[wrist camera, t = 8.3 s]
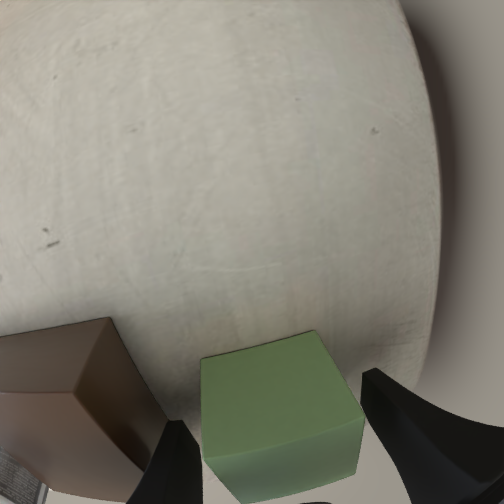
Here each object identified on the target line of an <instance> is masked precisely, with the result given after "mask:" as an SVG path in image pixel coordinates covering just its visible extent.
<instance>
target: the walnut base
mask: <svg viewBox="0 0 504 504" xmlns="http://www.w3.org/2000/svg"><path fill="white" fill-rule="evenodd" d="M168 421H169V420H168V418H167V417H166V416H165V414H164V413H163V411H162V410H161V408H160V406H159V405H158V403H157V402H156V400H155V399H154V397H153V396H152V394H151V392H150V391H149V389H148V388H147V386H146V384H145V383H144V381H143V379H142V378H141V376H140V374H139V372H138V371H137V369H136V367H135V365H134V364H133V362H132V360H131V358H130V356H129V354H128V353H127V351H126V349H125V347H124V345H123V343H122V341H121V339H120V337H119V335H118V333H117V331H116V329H115V327H114V325H113V323H112V321H111V319H110V318H109V317H107V318H102V319H97V320H92V321H87V322H82V323H77V324H72V325H67V326H61V327H56V328H51V329H45V330H40V331H34V332H28V333H22V334H16V335H10V336H4V337H0V446H1V447H2V448H3V449H5V450H6V451H7V452H8V453H9V454H10V455H11V456H12V457H13V458H14V459H15V460H16V461H17V462H18V463H20V464H21V465H22V466H23V467H24V468H25V469H26V470H28V471H29V472H30V473H31V474H32V475H34V476H35V477H36V478H37V479H39V480H40V481H41V482H42V483H44V484H45V485H46V486H48V487H49V488H50V489H52V490H53V491H57V492H61V493H66V494H70V495H76V496H81V497H86V498H92V499H99V500H106V501H115V502H125V503H126V502H127V501H128V499H129V498H130V496H131V495H132V493H133V492H134V490H135V489H136V487H137V485H138V483H139V482H140V480H141V478H142V476H143V474H144V472H145V470H146V469H147V466H148V464H149V462H150V460H151V458H152V456H153V454H154V451H155V449H156V447H157V445H158V442H159V440H160V437H161V435H162V432H163V430H164V427H165V425H166V423H167V422H168Z"/></svg>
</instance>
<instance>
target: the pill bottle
mask: <svg viewBox="0 0 504 504" xmlns="http://www.w3.org/2000/svg"><path fill="white" fill-rule="evenodd" d="M48 490H49V487H48V486H46V485H45V484H44V483H42V482H41V481H40V480H39V479H37V478H36V477H35V476H34V475H32V474H31V473H30V472H29V471H28V470H26V469H25V468H24V467H23V466H22V465H21V464H20V463H18V462H17V461H16V460H15V459H14V458H13V457H12V456H11V455H10V454H9V453H8V452H7V451H6V450H5V449H3V448H2V447H1V446H0V504H45V501H46V497H47V493H48Z"/></svg>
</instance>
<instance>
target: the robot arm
mask: <svg viewBox="0 0 504 504" xmlns="http://www.w3.org/2000/svg"><path fill="white" fill-rule="evenodd" d="M360 404H361V406H362V408H363V411H364V413H365V415H366V417H367V419H368V422H369V423H370V425H371V427H372V428H373V430H374V432H375V433H376V435H377V436H378V438H379V439H380V441H381V442H382V444H383V446H384V447H385V449H386V451H387V452H388V454H389V455H390V457H391V458H392V460H393V462H394V464H395V466H396V467H397V470H398V472H399V474H400V476H401V478H402V480H403V483H404V485H405V488H406V490H407V493H408V495H409V498H410V500H411V503H412V504H504V427H497V426H492V425H486V424H483V423H479V422H475V421H472V420H468V419H465V418H462V417H460V416H457V415H455V414H452V413H450V412H447V411H445V410H443V409H441V408H439V407H437V406H435V405H433V404H431V403H429V402H428V401H426V400H424V399H422V398H421V397H419V396H417V395H416V394H414V393H413V392H411V391H409V390H408V389H406V388H405V387H403V386H402V385H400V384H399V383H397V382H396V381H395V380H393V379H392V378H390V377H389V376H388V375H386V374H385V373H383V372H382V371H381V370H379V369H378V368H373V369H371V370H369V371H366V372H364V373H362V388H361V400H360ZM126 504H203V480H202V461H201V454H200V447H199V444H198V443H197V442H196V440H195V439H194V437H193V436H192V434H191V433H190V431H189V430H188V428H187V427H186V425H185V424H184V422H183V421H182V420H176V421H168V422H167V423H166V425H165V427H164V430H163V432H162V435H161V437H160V440H159V442H158V445H157V447H156V449H155V451H154V454H153V456H152V458H151V460H150V462H149V464H148V466H147V469H146V470H145V472H144V474H143V476H142V478H141V480H140V482H139V483H138V485H137V487H136V489H135V490H134V492H133V493H132V495H131V496H130V498H129V499H128V501H127V502H126Z"/></svg>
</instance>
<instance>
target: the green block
mask: <svg viewBox="0 0 504 504" xmlns="http://www.w3.org/2000/svg"><path fill="white" fill-rule="evenodd" d="M200 391H201V431H202V454H203V460H204V461H205V463H206V464H207V465H208V466H209V468H210V469H211V470H212V471H213V472H214V474H215V475H216V476H217V477H218V478H219V480H220V481H221V482H222V483H223V484H224V485H225V487H226V488H227V489H228V490H229V491H230V492H231V493H232V495H233V496H234V497H235V498H236V499H237V500H238V501H239V502H240V503H241V504H249V503H255V502H260V501H265V500H270V499H275V498H280V497H284V496H288V495H292V494H296V493H300V492H303V491H307V490H310V489H314V488H317V487H320V486H324V485H326V484H330V483H333V482H336V481H338V480H341V479H344V478H346V477H349V476H352V475H354V474H355V473H356V468H357V463H358V458H359V453H360V448H361V441H362V436H363V429H364V423H365V414H364V413H363V411H362V409H361V407H360V406H359V404H358V402H357V400H356V399H355V397H354V395H353V394H352V392H351V390H350V388H349V387H348V385H347V383H346V382H345V380H344V378H343V376H342V375H341V373H340V371H339V370H338V368H337V366H336V364H335V363H334V361H333V359H332V358H331V356H330V354H329V353H328V351H327V349H326V347H325V346H324V344H323V342H322V341H321V339H320V337H319V336H318V334H317V332H316V331H315V330H314V331H310V332H307V333H304V334H300V335H297V336H293V337H290V338H286V339H283V340H279V341H275V342H272V343H268V344H264V345H260V346H256V347H252V348H248V349H244V350H240V351H236V352H232V353H227V354H223V355H218V356H214V357H209V358H204V359H201V360H200Z"/></svg>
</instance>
